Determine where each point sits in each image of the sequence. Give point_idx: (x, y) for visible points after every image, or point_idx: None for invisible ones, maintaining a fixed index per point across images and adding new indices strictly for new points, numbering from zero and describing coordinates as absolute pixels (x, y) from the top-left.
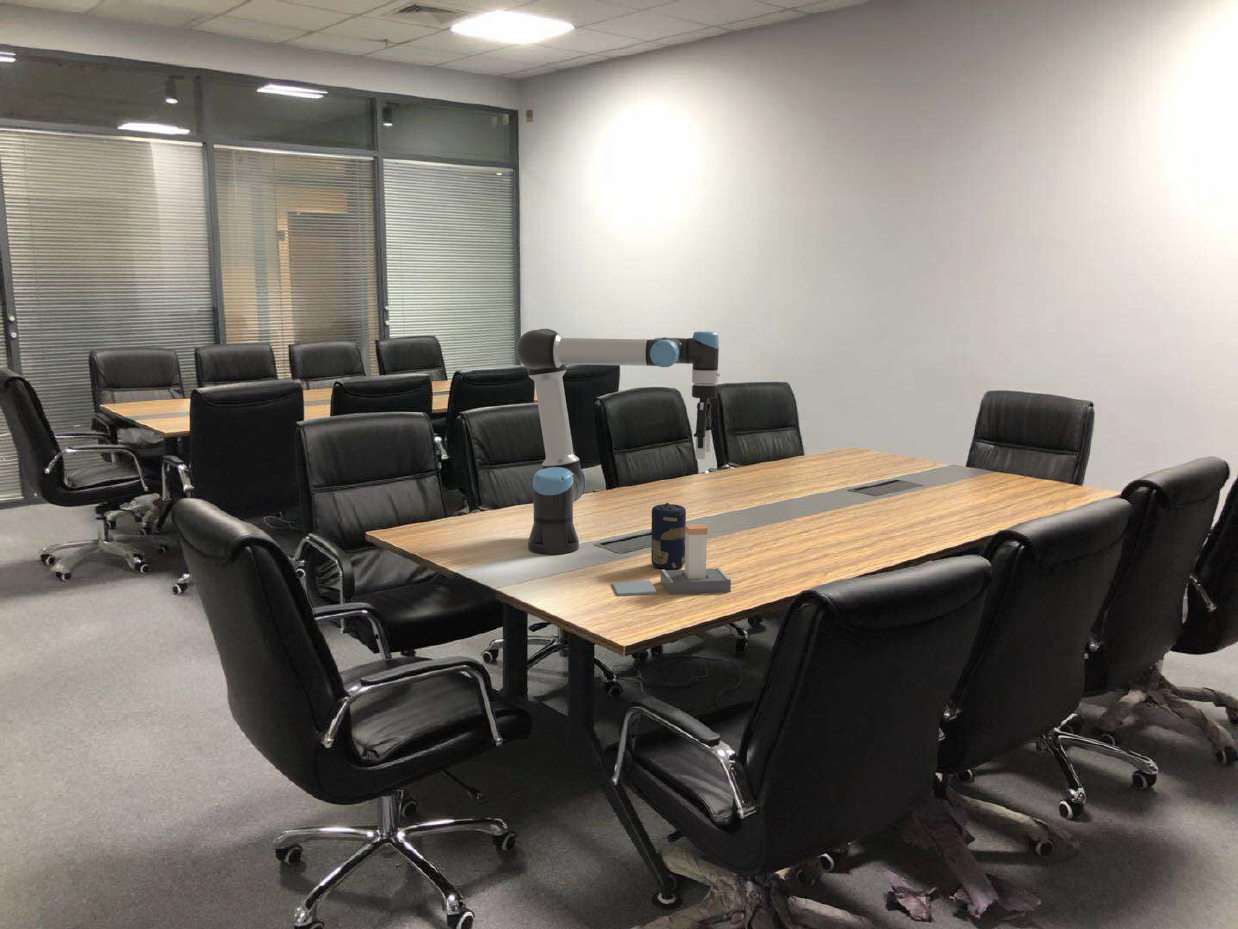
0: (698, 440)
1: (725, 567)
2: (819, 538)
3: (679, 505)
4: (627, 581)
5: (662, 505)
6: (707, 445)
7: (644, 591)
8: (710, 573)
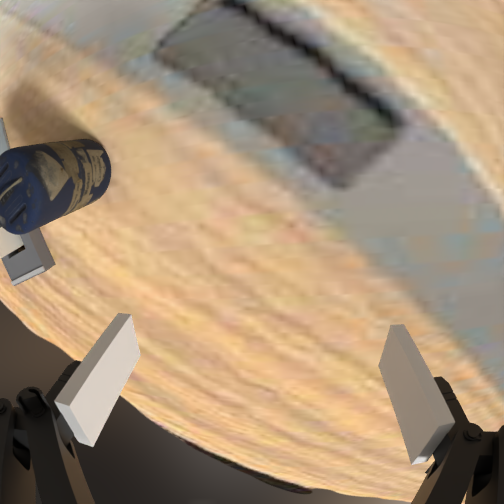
0: (50, 393)
1: (112, 270)
2: (342, 401)
3: (25, 218)
4: (4, 137)
5: (13, 174)
6: (392, 381)
7: None
8: (22, 258)
